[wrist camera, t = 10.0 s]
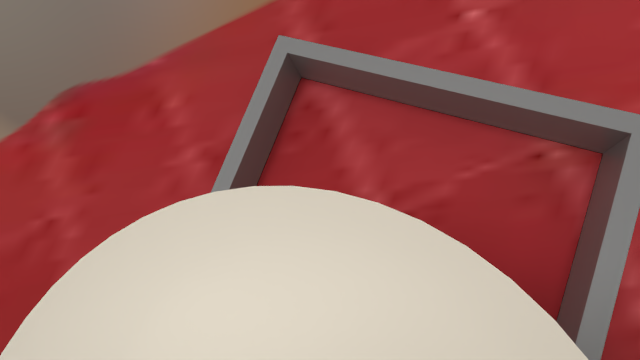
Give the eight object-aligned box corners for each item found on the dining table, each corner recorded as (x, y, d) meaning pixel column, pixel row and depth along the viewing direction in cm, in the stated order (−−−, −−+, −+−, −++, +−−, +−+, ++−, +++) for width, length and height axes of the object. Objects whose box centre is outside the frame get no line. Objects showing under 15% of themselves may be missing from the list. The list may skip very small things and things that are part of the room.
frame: (629, 141, 21) (662, 119, 18) (521, 543, 18) (541, 592, 15) (293, 61, 27) (278, 35, 24) (171, 351, 24) (138, 360, 21)
